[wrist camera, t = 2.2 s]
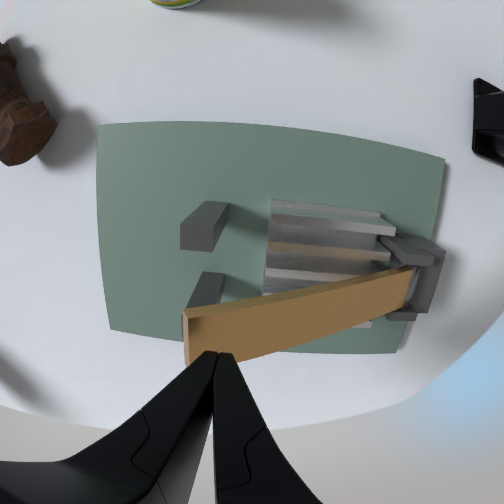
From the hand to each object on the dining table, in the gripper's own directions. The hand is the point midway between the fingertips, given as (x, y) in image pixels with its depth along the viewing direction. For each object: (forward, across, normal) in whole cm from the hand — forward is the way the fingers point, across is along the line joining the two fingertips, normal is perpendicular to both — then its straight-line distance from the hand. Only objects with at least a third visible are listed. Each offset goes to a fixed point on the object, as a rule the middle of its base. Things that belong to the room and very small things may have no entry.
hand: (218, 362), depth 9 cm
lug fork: (+11, +2, 0) cm, 11 cm away
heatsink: (+11, -5, 0) cm, 12 cm away
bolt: (+13, +21, -13) cm, 28 cm away
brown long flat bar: (+5, -4, 0) cm, 6 cm away
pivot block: (+11, -10, 0) cm, 15 cm away
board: (+12, -2, 0) cm, 12 cm away
